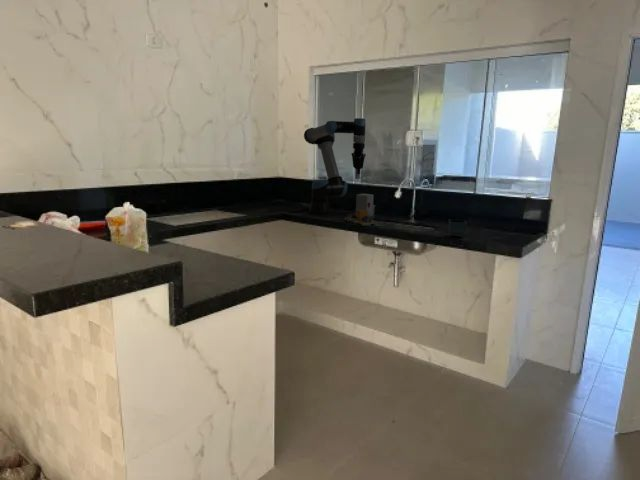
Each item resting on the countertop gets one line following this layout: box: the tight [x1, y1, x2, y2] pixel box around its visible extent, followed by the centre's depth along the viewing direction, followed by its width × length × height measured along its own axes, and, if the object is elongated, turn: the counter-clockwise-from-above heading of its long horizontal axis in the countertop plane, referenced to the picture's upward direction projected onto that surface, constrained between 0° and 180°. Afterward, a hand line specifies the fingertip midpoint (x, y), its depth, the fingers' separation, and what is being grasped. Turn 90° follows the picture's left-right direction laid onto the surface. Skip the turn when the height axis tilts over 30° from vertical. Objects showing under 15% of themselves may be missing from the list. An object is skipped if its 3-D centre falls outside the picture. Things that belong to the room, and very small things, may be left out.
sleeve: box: [355, 209, 368, 220], centre depth 290 cm, size 4×6×6 cm, turn 122°
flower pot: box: [448, 219, 468, 236], centre depth 255 cm, size 9×9×9 cm
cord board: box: [344, 213, 379, 227], centre depth 291 cm, size 20×12×5 cm, turn 32°
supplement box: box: [355, 193, 374, 217], centre depth 313 cm, size 9×9×15 cm
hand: (357, 178), depth 300 cm, fingers closed
